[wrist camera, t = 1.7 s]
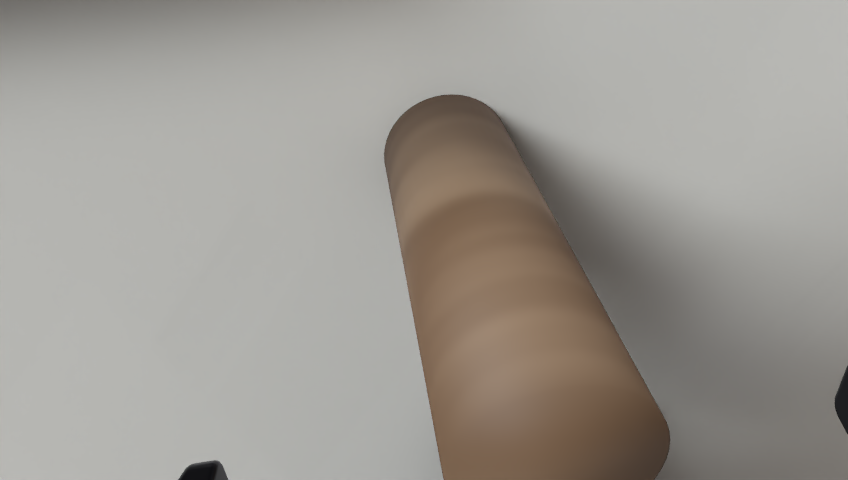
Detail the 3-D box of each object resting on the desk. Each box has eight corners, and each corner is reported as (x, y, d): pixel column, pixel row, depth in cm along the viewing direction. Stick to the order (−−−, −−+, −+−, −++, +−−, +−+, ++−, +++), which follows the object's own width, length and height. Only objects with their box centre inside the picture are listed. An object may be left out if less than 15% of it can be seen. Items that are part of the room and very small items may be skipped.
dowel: (508, 199, 17) (655, 515, 10) (390, 214, 17) (450, 551, 10) (508, 86, 15) (686, 368, 8) (377, 103, 15) (437, 407, 8)
